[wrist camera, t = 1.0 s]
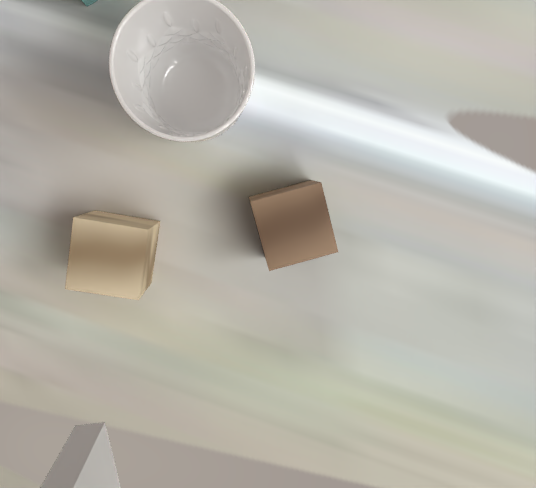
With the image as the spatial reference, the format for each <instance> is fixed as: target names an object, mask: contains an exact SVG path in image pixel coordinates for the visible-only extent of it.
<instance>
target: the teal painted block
mask: <svg viewBox="0 0 536 488" xmlns="http://www.w3.org/2000/svg"><path fill="white" fill-rule="evenodd" d="M81 1H82V2H83V3H84V4H85V5H86V6H89V5H91V4H92V3H94V2H96V1H97V0H81Z"/></svg>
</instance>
